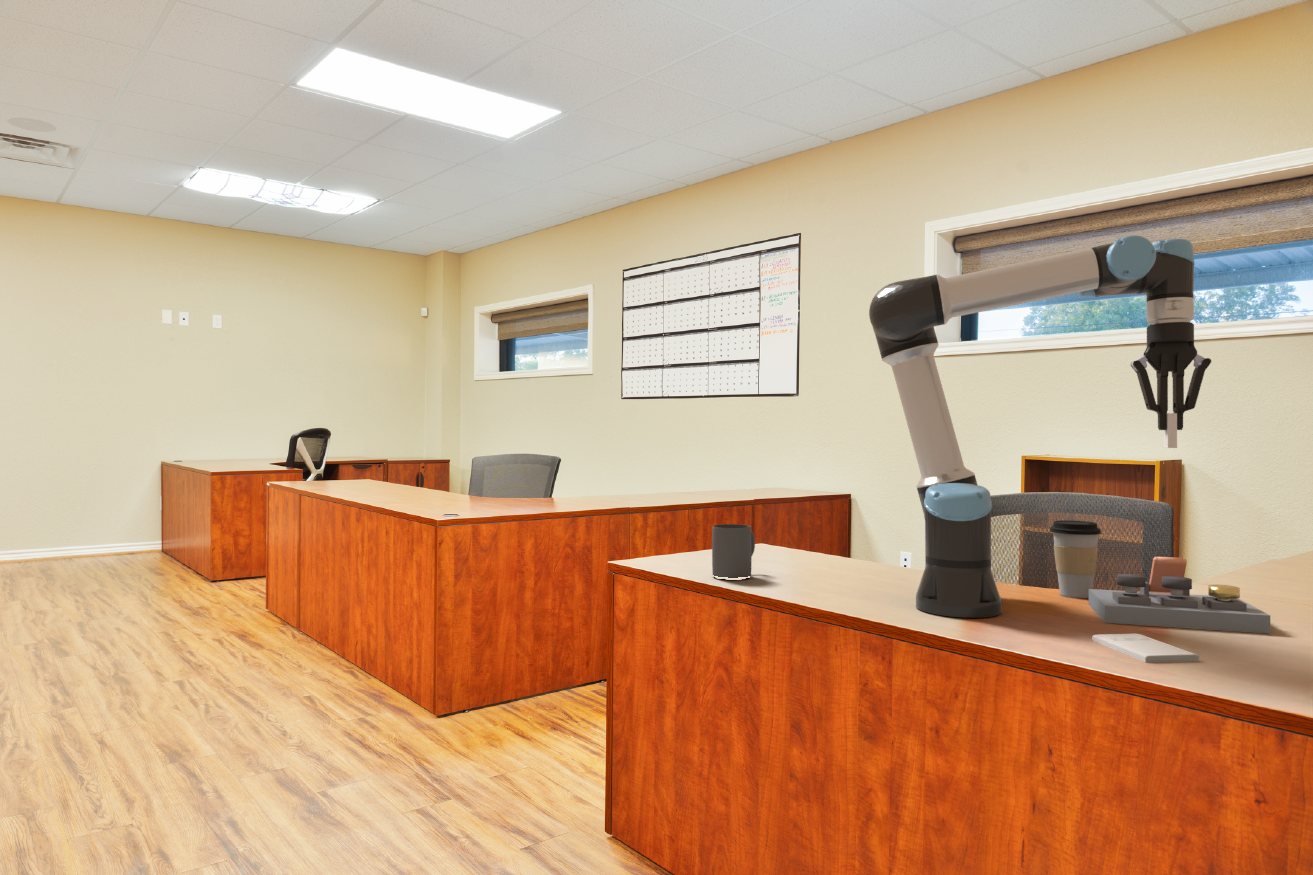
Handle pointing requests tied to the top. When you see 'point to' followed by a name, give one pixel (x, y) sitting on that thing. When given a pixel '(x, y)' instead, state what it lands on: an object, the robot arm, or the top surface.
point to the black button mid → (1176, 584)
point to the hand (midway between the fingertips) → (1170, 447)
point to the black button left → (1131, 582)
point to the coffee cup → (1075, 556)
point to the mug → (732, 550)
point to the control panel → (1177, 611)
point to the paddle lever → (1165, 571)
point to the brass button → (1224, 592)
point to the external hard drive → (1144, 648)
